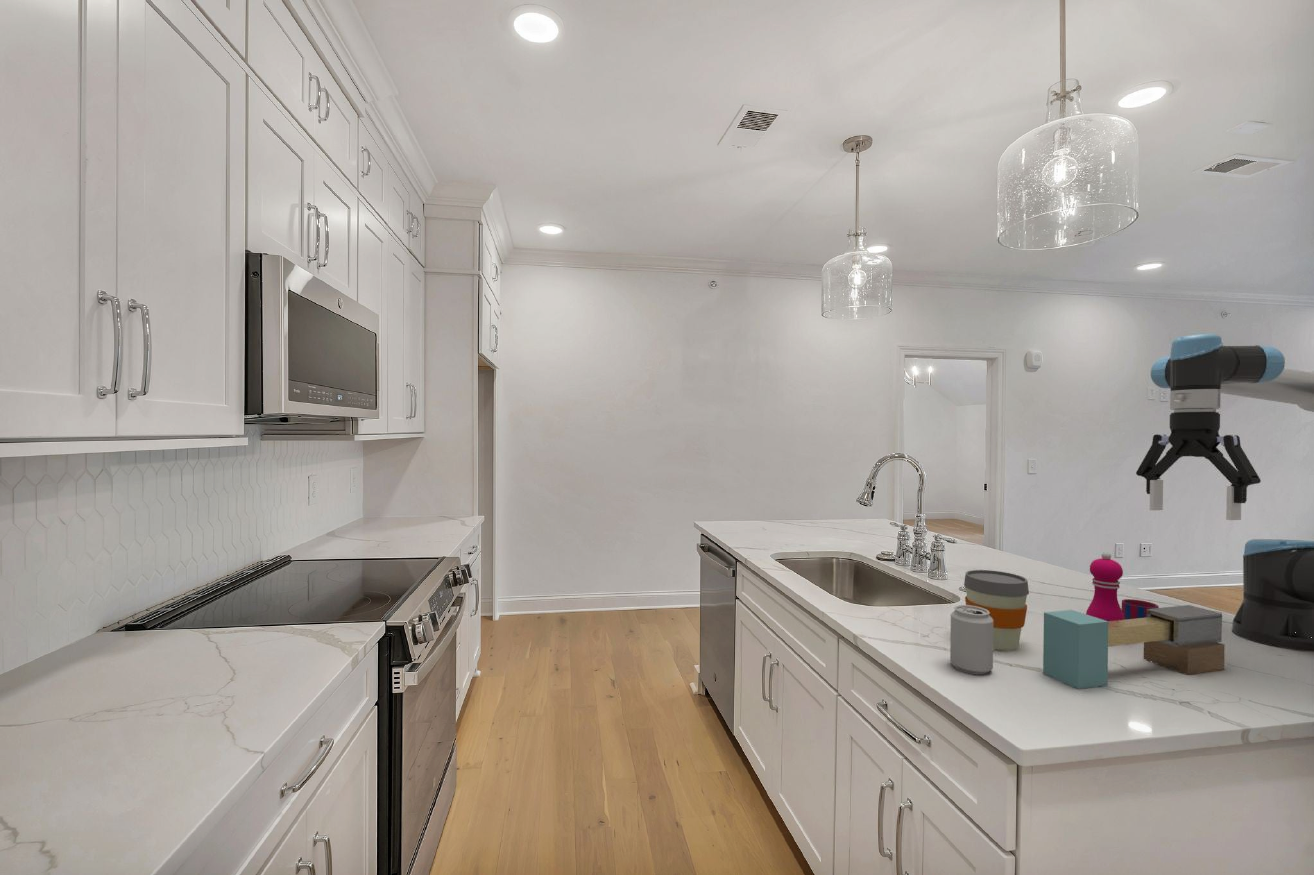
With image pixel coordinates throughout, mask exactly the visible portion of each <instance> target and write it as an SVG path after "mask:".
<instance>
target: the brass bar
mask: <svg viewBox="0 0 1314 875" xmlns="http://www.w3.org/2000/svg"><path fill="white" fill-rule="evenodd" d="M1108 622H1109V624H1108V648H1109V647H1117V646H1119V647H1120V646H1126V645H1135V644H1144V642H1152V641H1161V640H1169V639H1174V621H1172V620H1169V619H1165V618H1162V617H1158V616H1156V617H1147V618H1137V619H1127V620H1118V621H1108Z"/></svg>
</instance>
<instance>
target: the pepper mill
mask: <svg viewBox="0 0 1314 875" xmlns="http://www.w3.org/2000/svg"><path fill="white" fill-rule="evenodd" d="M1100 555H1101V558H1096V559H1094V560H1092V561H1091V563H1090V565H1089V572H1090V574H1091V575H1092V576H1093V577H1092V579H1091V580H1092V583H1091V584H1092V585H1093V588H1094V592H1093V597H1092V600H1091V602H1090V604H1089V605H1088V607H1087V609H1086V612H1085V614H1086V615H1090V616H1093V617H1096V618H1099V619H1102V620H1105V621H1118V620H1125V617H1124V614H1123V612H1122V607H1121V605H1120V603H1119V601H1118V589H1120V588H1121V586H1120V584H1121V582H1120V581H1119V580H1121V578H1122V577H1123V575H1124V570H1123V567H1122V565H1121V564H1120V563H1119V562H1117V561H1116V560H1114V559H1111V558H1112V554H1111V553H1110V552H1107V551H1105V552H1102V553H1101V554H1100Z"/></svg>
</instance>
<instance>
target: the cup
mask: <svg viewBox="0 0 1314 875" xmlns="http://www.w3.org/2000/svg"><path fill="white" fill-rule="evenodd" d="M1154 608H1160V607H1159V605H1158V604H1156V603H1155V602H1154V603H1153V602H1150V601H1146V600H1141V599H1134V598H1133V599H1132V598H1131V599H1129V598H1125V599H1122V600H1121V610H1122V612H1123V614H1124V617H1125V620H1127V619H1137V618H1146V615H1147V609H1154Z"/></svg>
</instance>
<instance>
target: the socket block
mask: <svg viewBox="0 0 1314 875" xmlns="http://www.w3.org/2000/svg"><path fill="white" fill-rule="evenodd" d="M1108 624H1109V622H1108V621H1105V620H1102V619H1099V618H1096V617H1093V616H1090V615H1086V613H1083V612H1079V611H1076V610H1074V609H1067V610H1066V609H1065V610H1056V611H1055V610H1054V611H1045V612H1043V647H1042V648H1043V652H1042V653H1043V654H1042V655H1043V656H1042V673H1043V674H1044V675H1046V676H1049V677H1051V678H1054V679H1055V680H1057V681H1060V682H1062V683H1063V684H1067V685H1068V686H1070V687H1072V688H1074V689H1078V690H1082V689H1090V688H1096V687H1104V686H1108V684H1109V683H1108V681H1109V680H1108V677H1109V671H1108V670H1109V667H1108V666H1109V647H1108Z"/></svg>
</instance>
